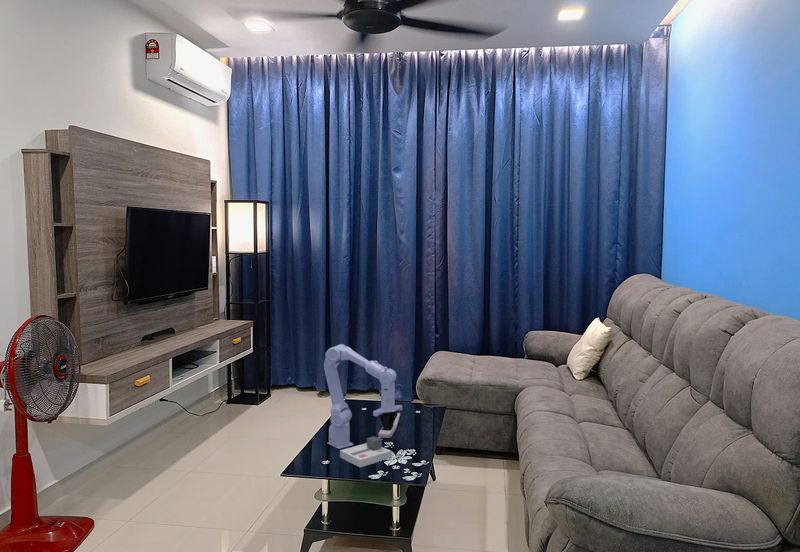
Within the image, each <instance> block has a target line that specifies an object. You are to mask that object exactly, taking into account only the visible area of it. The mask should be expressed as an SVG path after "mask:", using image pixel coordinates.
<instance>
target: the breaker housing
mask: <svg viewBox="0 0 800 552" xmlns="http://www.w3.org/2000/svg"><path fill="white" fill-rule="evenodd" d="M339 458H340V459H342V460H343V461H346V462H348V463H350V464H353V465H354V466H357V467H358V468H363V467H366V466H370V465H372V464H377V463H379V461H380V462H382V460H383V461H386V460H389V459H391V458H392V450H391V449H388V448H385V447H383V446H382V448H378V449H375V450H374V449H371V448H369V447H367V442H365V443H362V444H359V445H355V446H354V445H353V446H352V447H351V446H350V447H346V448H342V449H339ZM388 458H389V459H388ZM385 459H386V460H385Z"/></svg>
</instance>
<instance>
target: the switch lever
mask: <svg viewBox="0 0 800 552" xmlns="http://www.w3.org/2000/svg"><path fill="white" fill-rule="evenodd" d="M366 443H367V447H369V448H371V449H374V450H375V449H378V448H382V447H383V446H382V444H383V443H382V438H378V436H370V437H366Z"/></svg>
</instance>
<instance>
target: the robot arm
mask: <svg viewBox="0 0 800 552" xmlns="http://www.w3.org/2000/svg"><path fill="white" fill-rule="evenodd" d="M324 355H325V358H324V363H323V370H324V374H325V378H326V384H327V386H328V391H329V396H330V400H331V404H332V405H331V408H330V425H329V426H328V442H327V444H328V445H330V446H332V447H334V448H336V449H339V450H342V449H346V448H349V447H351V446H352V447H353V446H354V443H353V442H351V441H350V435H351V434H350V421H351V419H352V417H353V414H352V413H353V412H352V411H351V409H350V408H349V405H348V404H347V402H346V401H345V399H344V394H343V389H342V386H341V379H340V377H339V372H338V365H340V362H341V361H351V362H353V363H355V364H356V365H358V366H360V367H362V368H364V369H365V372H366V373H368V374H369V375H370V376H372V377H374V378H375V379H377V380H379V383H380V384H381V388H380V389H381V392H380V393H381V394H380V395H381V398H380V399H381V401H380V402H381V403H380V407H379V408H377V409H375V410H373V411H372V416H374V417H379V418H380V422H381V424H382V428H383V429H384V430H386V431H388V429H392V428H393V424H394V421H395V419H396V417H397V415H398V413H399V412H398V411H403V405H401V404H396V405H395V402H396V401H395V398H396V397H395V396H396V395H395V393H396V392H395V391H396V389H395V387H396V385H395V381H396V379H397V373H396V371H395V370H394V369H393V368H388V367H387V366H383V365H382V364H380V363H379V361H377V360H368V359H367V358H365V357H363V356H362V355H360V354H359V353H358V352H356V351H354V350H353V349H352V348H351V347H350V346H347V345H345V344H343V343H340V344H338V345H335V346H333V347H330V348H328V349H327V351H326V352H325V354H324Z"/></svg>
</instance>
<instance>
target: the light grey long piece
mask: <svg viewBox="0 0 800 552" xmlns="http://www.w3.org/2000/svg"><path fill="white" fill-rule="evenodd" d="M397 413H398V415H397V417H396V419H395V421H394V424H393V428H392V429H388V431H386V430H384V429H383V427H381V429H380V430H379V432H378V434H377V435H378V436H377V438H380V439H382V438H384V439H388V438H389V439H390V438H392V437H393V435H394V433H395V432H396V430H397V428H398V423H399V420H400V416H401V412H397Z"/></svg>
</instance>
